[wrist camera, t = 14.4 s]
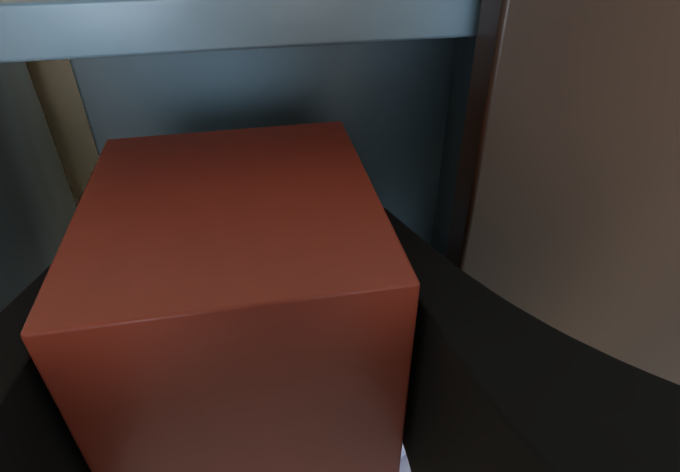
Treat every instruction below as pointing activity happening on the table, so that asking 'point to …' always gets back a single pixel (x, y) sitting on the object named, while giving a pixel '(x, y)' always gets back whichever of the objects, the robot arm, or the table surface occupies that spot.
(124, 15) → the drawer
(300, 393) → the block
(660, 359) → the cabinet
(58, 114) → the table surface
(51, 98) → the table surface
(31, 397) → the robot arm
